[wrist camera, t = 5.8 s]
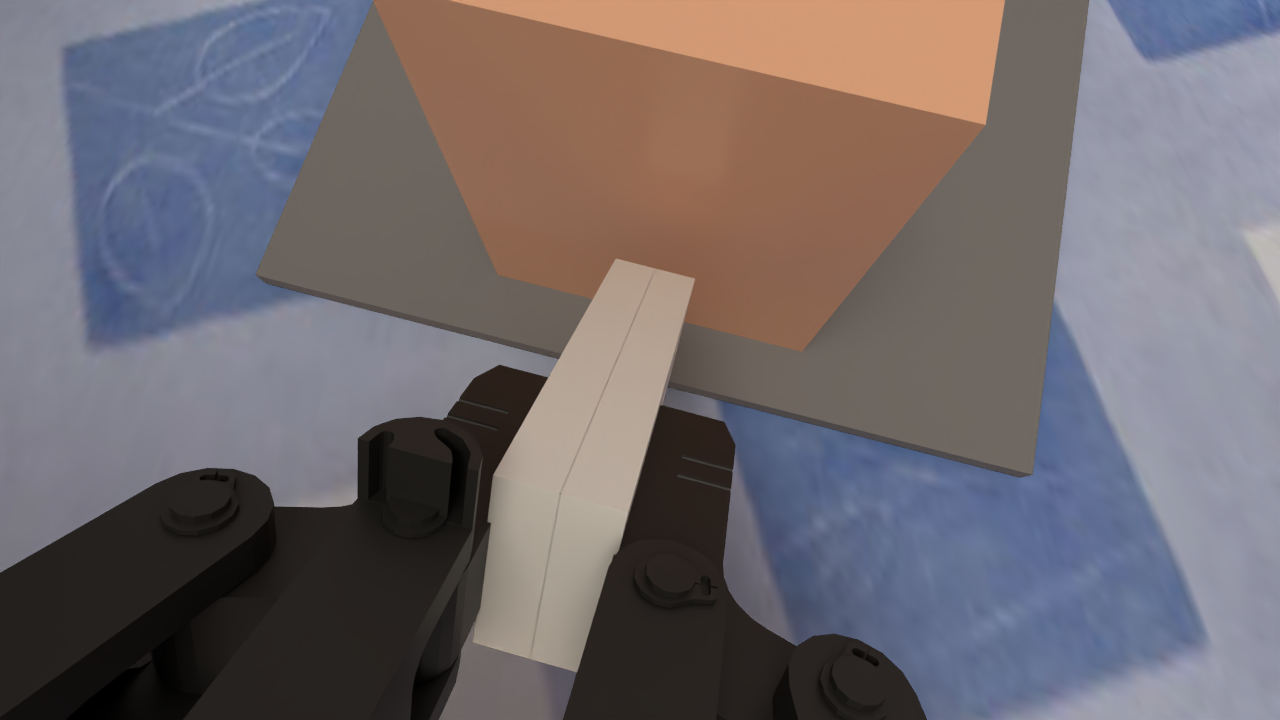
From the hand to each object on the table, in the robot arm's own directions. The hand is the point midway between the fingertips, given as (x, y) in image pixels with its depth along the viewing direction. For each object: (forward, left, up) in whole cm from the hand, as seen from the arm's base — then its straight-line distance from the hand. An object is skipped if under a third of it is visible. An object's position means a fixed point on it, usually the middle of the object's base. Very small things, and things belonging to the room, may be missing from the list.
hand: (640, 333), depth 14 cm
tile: (-2, +2, -4) cm, 5 cm away
